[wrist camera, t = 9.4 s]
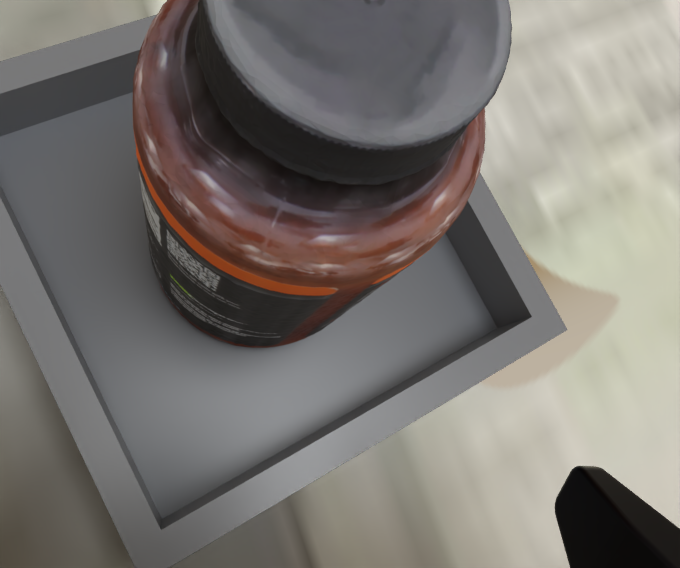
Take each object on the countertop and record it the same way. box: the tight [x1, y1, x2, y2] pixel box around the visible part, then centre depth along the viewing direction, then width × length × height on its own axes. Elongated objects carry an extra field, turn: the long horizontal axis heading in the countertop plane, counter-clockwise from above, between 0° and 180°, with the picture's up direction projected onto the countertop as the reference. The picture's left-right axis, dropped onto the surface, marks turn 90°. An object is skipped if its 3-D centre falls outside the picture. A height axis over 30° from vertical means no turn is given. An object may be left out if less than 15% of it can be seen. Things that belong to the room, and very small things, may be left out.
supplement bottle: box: [133, 0, 512, 348], centre depth 13 cm, size 6×6×11 cm
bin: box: [0, 15, 567, 568], centre depth 18 cm, size 13×13×3 cm
